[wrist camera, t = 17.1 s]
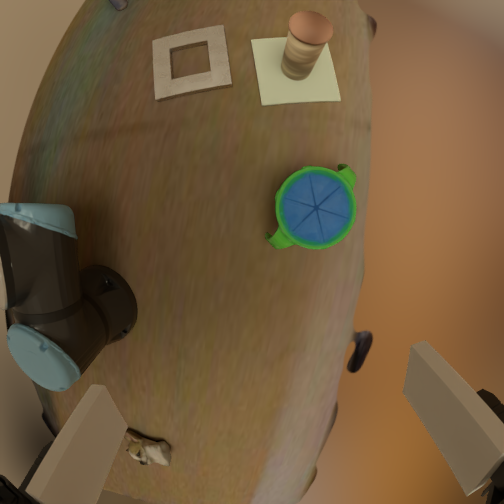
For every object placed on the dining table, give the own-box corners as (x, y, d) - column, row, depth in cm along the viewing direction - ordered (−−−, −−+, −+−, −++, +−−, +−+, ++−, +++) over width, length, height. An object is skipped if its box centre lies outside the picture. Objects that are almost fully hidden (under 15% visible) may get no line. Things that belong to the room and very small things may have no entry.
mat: (261, 106, 40) (262, 105, 40) (251, 41, 38) (251, 39, 37) (339, 101, 40) (340, 100, 39) (324, 38, 37) (325, 37, 36)
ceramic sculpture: (171, 480, 50) (119, 465, 51) (179, 457, 59) (130, 445, 60) (163, 459, 48) (107, 443, 49) (173, 434, 56) (121, 421, 57)
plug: (282, 82, 39) (293, 43, 25) (277, 55, 38) (285, 10, 24) (314, 81, 39) (337, 43, 25) (308, 54, 37) (327, 11, 24)
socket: (158, 102, 40) (155, 99, 39) (155, 43, 37) (152, 40, 36) (232, 87, 40) (231, 83, 38) (224, 28, 37) (223, 24, 35)
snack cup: (284, 258, 46) (292, 277, 36) (244, 206, 44) (241, 212, 34) (359, 201, 44) (385, 206, 34) (322, 148, 42) (340, 139, 32)
